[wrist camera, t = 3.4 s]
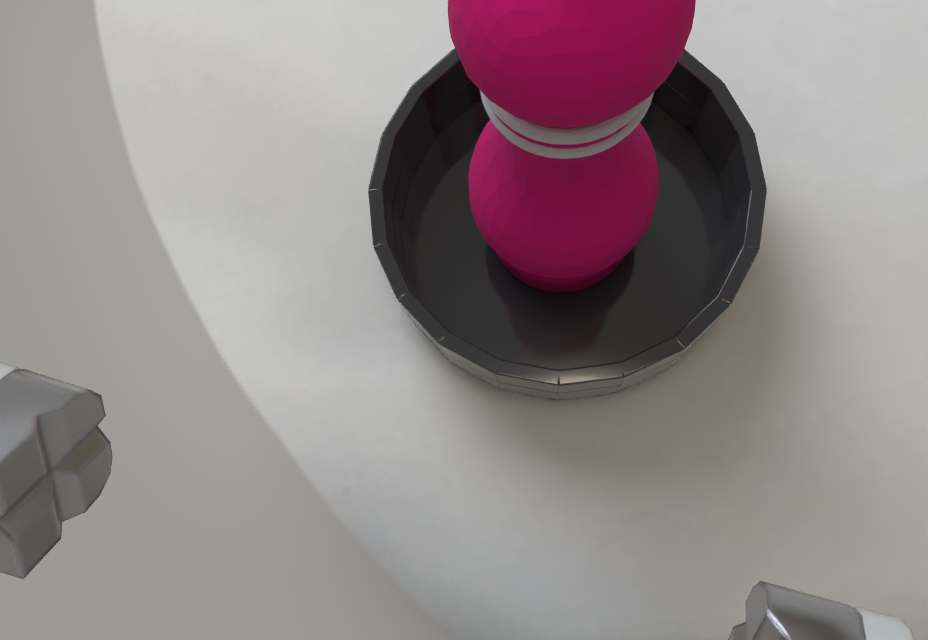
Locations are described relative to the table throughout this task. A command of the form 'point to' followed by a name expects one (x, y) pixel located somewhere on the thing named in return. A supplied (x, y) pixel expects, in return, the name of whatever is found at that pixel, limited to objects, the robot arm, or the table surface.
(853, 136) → the table surface
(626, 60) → the pepper mill
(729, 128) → the pan
